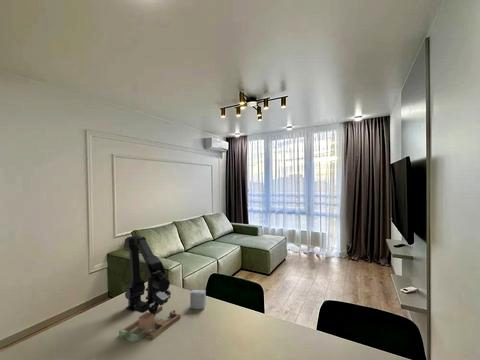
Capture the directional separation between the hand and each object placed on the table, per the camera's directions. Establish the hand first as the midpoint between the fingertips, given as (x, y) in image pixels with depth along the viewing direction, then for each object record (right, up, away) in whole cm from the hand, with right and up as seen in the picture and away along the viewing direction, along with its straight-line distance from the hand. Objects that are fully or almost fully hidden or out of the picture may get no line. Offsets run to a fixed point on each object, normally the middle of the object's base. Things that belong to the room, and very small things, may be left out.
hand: (153, 317), depth 114 cm
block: (-2, -2, -4) cm, 5 cm away
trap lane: (+1, -2, -3) cm, 4 cm away
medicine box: (+20, -3, +14) cm, 24 cm away
